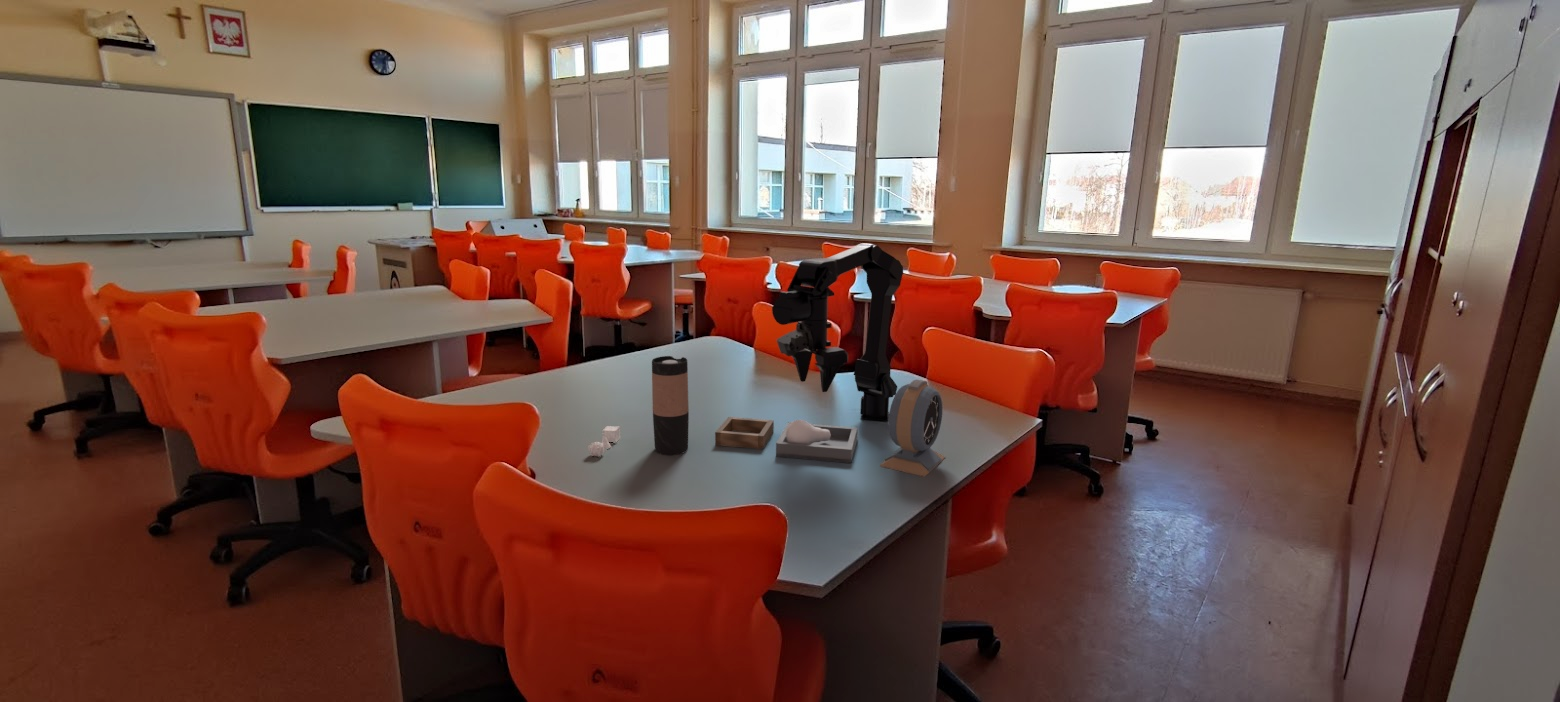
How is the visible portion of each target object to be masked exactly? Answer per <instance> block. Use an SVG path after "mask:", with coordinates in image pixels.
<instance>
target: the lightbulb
mask: <svg viewBox="0 0 1560 702" xmlns="http://www.w3.org/2000/svg"><path fill="white" fill-rule="evenodd" d="M811 424H812V423H809V422H808V421H806V420H804V419H796V420H793V421H791V423H790V424H789V426H788V427H787V429H786V439H787V441H788V442H791V443H803V444H812V443H814V442H821V441H828V440H829V439H830V437H831V434H830V431H829V430H827V429H821V428H818V427H814V426H812V425H811Z"/></svg>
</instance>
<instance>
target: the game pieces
mask: <svg viewBox="0 0 1560 702" xmlns="http://www.w3.org/2000/svg"><path fill="white" fill-rule="evenodd" d="M601 432H602V438H601V441H600V442H599V441H595V442H591V443H590V445H588V446H587V447H588V453H589V454H590V455H591V457H592V456H594V457H599V456H600V457H601V456H603V455H604V453H605V452H606V450H605V449H608V448H610V447H612V445H611V443H609V442H615V444H617V443H618V442H619V441H620V440H621V439H622V437H621V427H620V426H618V425H617V426H610V425H607V426H605V428H604V429H602V431H601ZM619 439H620V440H619ZM618 440H619V441H618ZM617 441H618V442H617ZM616 442H617V443H616ZM602 454H603V455H602Z"/></svg>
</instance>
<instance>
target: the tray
mask: <svg viewBox="0 0 1560 702" xmlns="http://www.w3.org/2000/svg"><path fill="white" fill-rule="evenodd" d="M790 423H792V421H790V422H787V424H786V426H785V427H784V429H783V430H782V432H781V434H780V435H779V437H778V440H777V441H776V442H775V443H776V444H775V457H777V458H778V457H779V458H786V459H787V458H788V459H789V458H790V459H800V460H810V461H823V462H824V461H825V462H834V463H844V464H845V463H846V464H852V461H853V457H854V454H855V449H856V446H857V442H858V429H859V428H858V427H853V426H851V427H850V426H841V425H830V424H829V425H827V424H826V425H825V424H817V423H815V424H814V423H810V424H811V425H812V426H814V427H818V428H821V429H827V430H829V431H830V434H831V437H830V439H829V440H828V441H821V442H814V443H812V444H803V443H791V442H788V441H787V439H786V429H787V427H788V426H789V424H790Z"/></svg>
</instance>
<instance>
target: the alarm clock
mask: <svg viewBox="0 0 1560 702" xmlns="http://www.w3.org/2000/svg"><path fill="white" fill-rule="evenodd" d="M943 408H944V407H943V401H942V396H941V394H940V391H938V390H937V389H935V388H934V387H931V386H930V385H929V384H928V381H927V380H921V379H914V380H912V381H911V382H910V383H907V384H905V385H903V386H901V387H900V388H899V389H897V391H896V395H894V396H893V400H892V402H891V404H890V408H889V417H888V433H889V437H890V440H891V441H892V442H893V443H894V444H895V446H898V447H900V448H898V449H896V450H895V451H894V452H892V453H891V454H890V455H888V456H887V457H886V458H885V459H884V461H883V462H882V463H881V464H879V467H883V468H887V469H891V470H893V471H899V472H904V473H907V474H911V475H915V476H919V477H926V476H928V474H929V473H931V471H933V470H934V469H935V468H936V467H937V466H938V465H939V464H940V463H941V462H943V460H944V459H946V456H945V455H943V454H942V453H939V452H937V451H935V450H933V449H932V448H931V447H932V446H933V445H934V444H935V442H936V440H937V438H938V435H939V433H940V430H941V429H940V428H941V426H942V419H943Z"/></svg>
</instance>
